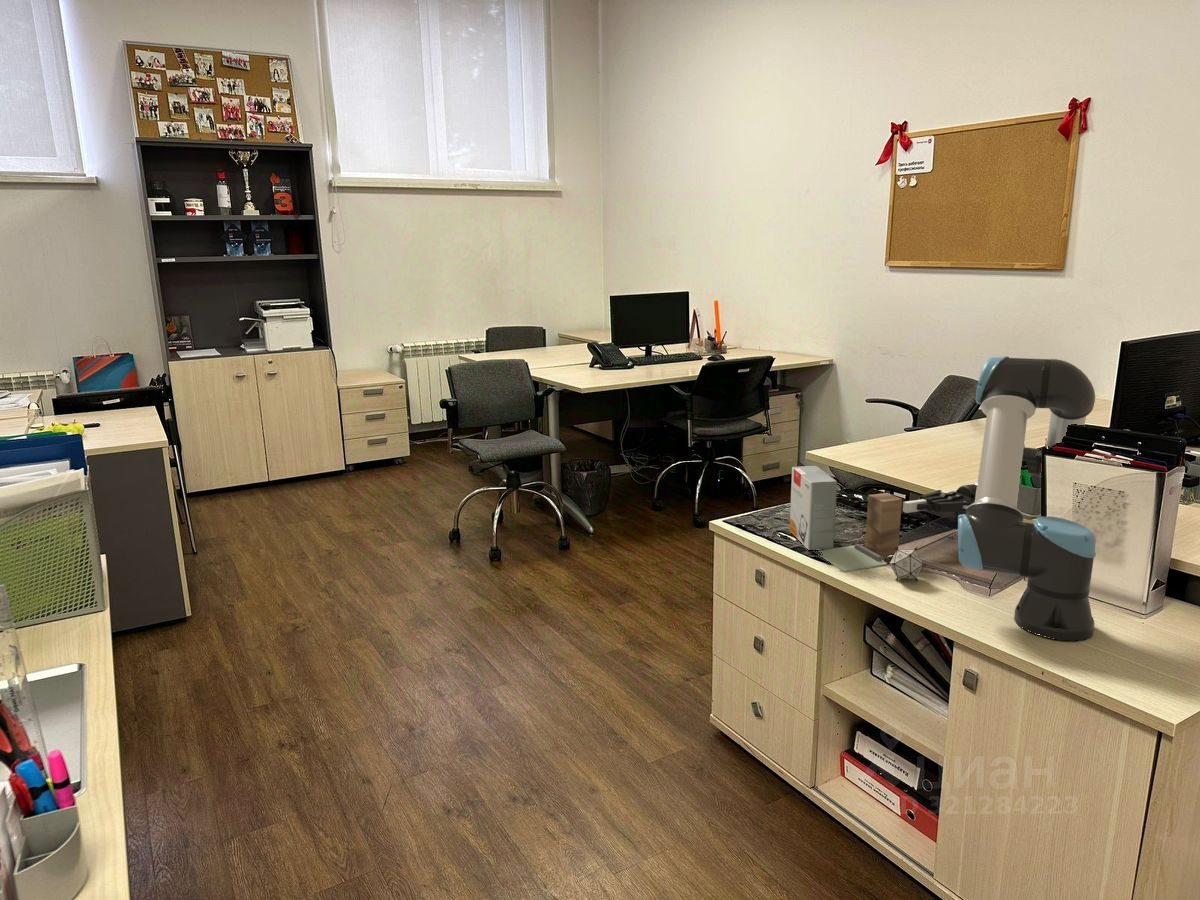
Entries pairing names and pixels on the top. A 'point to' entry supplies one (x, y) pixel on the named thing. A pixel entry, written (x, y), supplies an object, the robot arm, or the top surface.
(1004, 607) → the top surface
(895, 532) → the walnut block
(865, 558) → the pale green square plate
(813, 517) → the hard drive box
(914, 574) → the game die
